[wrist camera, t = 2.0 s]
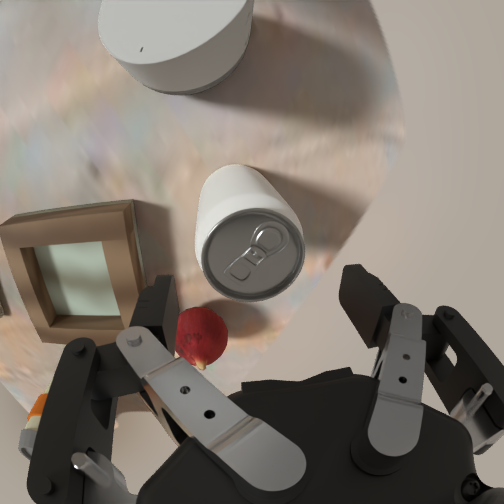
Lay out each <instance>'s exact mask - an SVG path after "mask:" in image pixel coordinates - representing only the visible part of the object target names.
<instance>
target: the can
mask: <svg viewBox="0 0 504 504" xmlns="http://www.w3.org/2000/svg"><path fill="white" fill-rule="evenodd" d="M195 252H196V257H197V261H198V263H199V265H200V267H201V269H202V271H203V272H204V275H205V277H206V279H207V280H208V282H209V283H210V285H211V286H212V287H213V288H214V289H215V290H216V291H218V292H219V293H220V294H222V295H224V296H225V297H228V298H230V299H233V300H236V301H242V302H257V301H263V300H266V299H269V298H272V297H274V296H276V295H278V294H280V293H281V292H283V291H284V290H286V289H287V288H288V287H289V286H290V285H291V284H292V283H293V282H294V281H295V279H296V278H297V277H298V275H299V273H300V271H301V269H302V266H303V263H304V259H305V245H304V237H303V230H302V226H301V224H300V221H299V219H298V217H297V216H296V214H295V212H294V211H293V210H292V208H291V207H290V206H289V205H288V203H287V202H286V201H285V200H284V199H283V197H282V196H281V195H280V194H279V193H278V192H277V191H276V189H275V188H274V187H273V186H272V185H271V184H270V183H269V182H268V181H267V179H266V178H265V177H264V176H263V175H262V174H260V173H259V172H258V171H256V170H254V169H253V168H251V167H248V166H245V165H238V164H235V165H228V166H224V167H222V168H220V169H218V170H216V171H215V172H213V173H212V174H211V175H210V176H209V177H208V178H207V180H206V181H205V183H204V185H203V187H202V190H201V194H200V199H199V206H198V214H197V223H196V232H195Z"/></svg>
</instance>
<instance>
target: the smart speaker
mask: <svg viewBox="0 0 504 504" xmlns="http://www.w3.org/2000/svg"><path fill="white" fill-rule="evenodd" d="M253 4H254V0H103V1H102V4H101V7H100V11H99V17H98V31H99V36H100V39H101V41H102V43H103V45H104V47H105V48H106V50H107V51H108V52H109V53H110V54H111V55H112V56H113V57H114V58H115V59H116V60H117V61H118V62H119V63H120V64H121V65H122V66H123V67H124V68H125V69H126V70H127V71H128V72H129V73H130V74H131V75H132V76H133V77H134V78H135V79H136V80H137V81H139V82H140V83H142V84H143V85H145V86H146V87H148V88H150V89H152V90H155V91H157V92H160V93H164V94H170V95H189V94H195V93H199V92H202V91H205V90H207V89H210V88H212V87H214V86H216V85H217V84H219V83H220V82H222V81H223V80H224V79H226V78H227V77H228V76H229V75H230V74H231V73H232V72H233V71H234V70H235V68H236V67H237V66H238V64H239V63H240V61H241V60H242V58H243V56H244V53H245V51H246V48H247V45H248V41H249V37H250V30H251V22H252V13H253Z"/></svg>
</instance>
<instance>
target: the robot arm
mask: <svg viewBox="0 0 504 504" xmlns="http://www.w3.org/2000/svg"><path fill="white" fill-rule="evenodd" d="M339 301H340V304H341V306H342V307H343V309H344V310H345V312H346V314H347V315H348V317H349V318H350V320H351V322H352V323H353V325H354V326H355V328H356V330H357V331H358V333H359V334H360V336H361V338H362V339H363V341H364V343H365V344H366V346H367V347H368V348H373V347H379V350H378V353H377V356H376V359H375V363H374V367H373V370H372V374H371V377H369V376H365V375H359V374H353V372H352V370H351V368H350V367H346V368H341V369H337V370H331V371H326V372H323V373H321V374H318V375H316V376H313V377H311V378H308V379H306V380H303V381H282V380H262V381H251V382H241V386H242V387H241V389H242V391H238V392H236V393H233V394H231V395H229V396H227V397H226V396H225V395H224V394H223V393H222V392H221V391H219V390H218V389H217V388H216V387H215V386H214V385H213V384H212V383H210V382H209V381H208V380H207V379H206V378H205V377H204V376H203V375H202V374H201V373H200V372H198V371H197V370H196V369H195V368H194V367H193V366H192V365H191V364H190V363H189V362H188V361H187V360H186V359H185V358H183V357H179V358H177V359H176V358H174V354H175V344H176V335H177V326H178V317H179V308H178V300H177V293H176V287H175V280H174V276H173V275H157V277H156V280H155V283H154V286H151V287H146V288H145V289H144V290H143V291H142V292H141V293H140V294H139V297H138V300H137V303H136V306H135V309H134V312H133V315H132V318H131V321H130V324H129V328H127V329H125V330H123V331H121V332H120V333H119V335H118V336H117V338H116V342H113V343H110V344H105V345H101V346H96V344H95V342H94V341H93V340H92V339H90V338H86V337H81V338H77V339H74V340H72V341H70V342H69V343H68V344H67V345H66V346H65V348H64V350H63V353H62V355H61V358H60V361H59V363H58V366H57V369H56V372H55V374H54V377H53V380H52V383H51V386H50V389H49V392H48V395H47V398H46V401H45V405H44V408H43V412H42V415H41V419H40V422H39V426H38V430H37V434H36V438H35V442H34V446H33V451H32V456H31V461H30V466H29V471H28V477H27V489H28V493H29V495H30V497H31V498H32V500H33V501H34V502H35V503H36V504H504V488H493V487H490V486H487V485H485V484H484V483H483V482H481V480H480V479H479V477H478V475H477V473H476V469H475V464H474V457H473V454H475V455H480V454H483V453H484V452H485V451H487V450H488V449H489V448H490V447H491V446H492V445H493V444H494V443H495V442H496V441H498V440H499V439H500V438H501V437H502V436H503V435H504V366H503V365H502V363H501V362H500V361H499V359H498V358H497V357H496V356H495V355H494V353H493V352H492V351H491V350H490V348H489V347H488V346H487V344H486V343H485V342H484V341H483V340H482V339H481V337H480V336H479V335H478V334H477V333H476V331H475V330H474V329H473V328H472V327H471V326H470V325H469V323H468V322H467V321H466V320H465V319H464V318H463V317H462V316H461V314H460V313H459V312H458V311H457V310H455V309H454V308H452V307H449V306H439V307H438V308H437V309H436V312H435V314H434V315H422V313H421V311H420V310H419V309H418V308H417V307H415V306H413V305H411V304H407V303H400V302H399V301H398V300H397V298H396V297H395V296H394V295H393V294H392V293H391V292H390V290H388V288H387V287H386V286H385V285H383V283H382V282H381V281H380V280H379V278H377V277H376V276H374V275H372V274H370V273H368V272H367V271H366V270H365V269H364V268H363V267H362V265H361V264H355V265H354V264H353V265H346V266H344V268H343V273H342V279H341V284H340V289H339ZM449 345H450V346H451V348H452V349H453V350H454V352H455V353H456V355H457V363H456V365H455V367H454V365H453V364H452V363H451V361H450V359H449V358H448V357H447V355H446V354H445V352H446V350H447V348H448V346H449ZM424 372H425V373H426V375H427V377H428V378H429V380H430V382H431V383H432V385H433V387H434V388H435V390H436V392H437V393H438V395H439V397H440V399H441V400H442V402H443V404H444V406H445V407H446V409H447V411H448V413H449V415H450V416H448V415H446V414H444V413H442V412H440V411H438V410H436V409H434V408H432V407H430V406H428V405H426V404H424V403H422V402H421V397H422V390H423V380H424ZM132 393H138V395H139V396H140V397H141V399H142V400H143V401H144V403H145V404H146V405H147V407H148V408H149V409H150V411H151V412H152V413H153V414H154V415H155V417H156V418H157V419H158V421H159V422H160V423H161V424H162V426H163V428H164V429H165V431H166V432H167V434H168V435H169V436H170V438H171V439H172V440H173V441H174V442H175V444H176V445H177V446H178V448H177V449H176V450H175V451H174V453H173V454H172V455H171V456H170V457H169V458H168V459H167V460H166V461H165V462H164V464H163V465H162V466H161V467H160V468H159V469H158V470H157V471H156V472H155V473H154V474H153V475H152V476H151V477H150V478H149V479H148V480H147V481H146V483H145V484H144V485H143V486H142V487H141V489H140V491H139V493H138V495H134V494H131V493H129V491H128V489H127V486H126V480H125V477H124V475H123V474H122V473H121V471H119V469H117V468H116V467H115V466H114V465H113V464H112V463H111V455H112V443H113V432H114V424H115V415H116V407H117V400H118V397H119V396H123V395H128V394H132Z"/></svg>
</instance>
